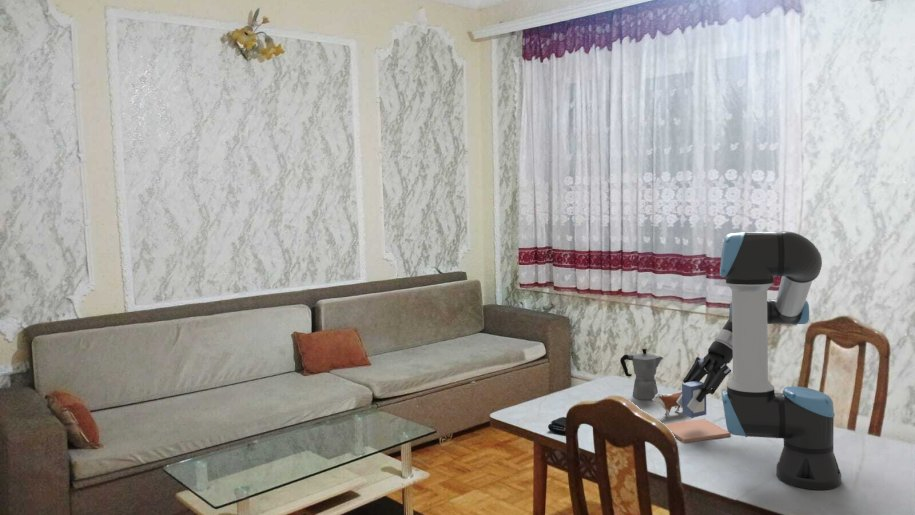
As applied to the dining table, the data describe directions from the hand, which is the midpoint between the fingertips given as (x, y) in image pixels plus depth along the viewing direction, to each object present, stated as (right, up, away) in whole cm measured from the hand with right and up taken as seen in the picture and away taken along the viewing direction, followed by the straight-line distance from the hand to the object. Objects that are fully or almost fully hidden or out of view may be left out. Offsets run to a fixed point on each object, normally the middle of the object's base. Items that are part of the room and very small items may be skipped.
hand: (684, 406), depth 217 cm
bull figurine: (+2, -7, +19) cm, 20 cm away
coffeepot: (-3, -5, +40) cm, 41 cm away
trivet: (+4, -8, +2) cm, 9 cm away
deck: (+4, -3, +2) cm, 5 cm away
